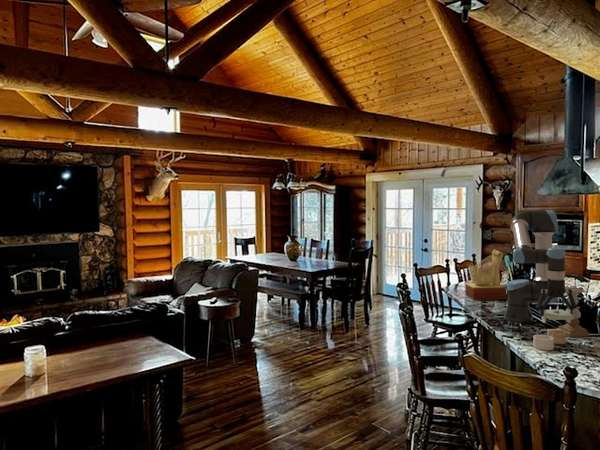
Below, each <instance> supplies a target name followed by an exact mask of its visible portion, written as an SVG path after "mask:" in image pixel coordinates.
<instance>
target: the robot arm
mask: <svg viewBox="0 0 600 450" xmlns="http://www.w3.org/2000/svg"><path fill="white" fill-rule="evenodd" d="M509 225H510V231H512V233H513V238H514V244H515V249H513V250H512V259H513V260H512V261H513V263H515V264H535V277H534V278H533V280H532V282H530V280H529V279H523V278H522V279H521V278H520V279H514V280H510V281H509V282H507V287H506V291H507V306H506V310H505V312H504V319H505V320H506V321H508V322H516V323H529V322H533V320H534V317H533V313H532V310H531V308H530V303H535V308H537V309H538V310H539V316H540V317H541V322H542V323H544V324H546V323H547V320H546V319H547V318H546V310H547V309H546V307H547V306H548V305H549V304H556V302H558V299H559V298H560V299H561V300H562V301H563V302H564V305H565V306H566V307H567V308H569V309H567V308H566V309H565V311H566V312H568V313H570V314H572V310H574V308H578V306H577V305H576V303H575V301H574V298H573V296H572V290H571V289H569V288H568V289H565V287H566V280H565V278H566V249H565V248H563V247H558V246H557V247H553V236H554V235H555V233H556V231H557V230H558V229H559V224H558V217H557V213H556V212H555V211H554V210H551V209H550V210H549V209H539V210H538V209H537V210H536V209H535V210H522V211H520V212H518V213H516V214H515V215H514V216H512V218H511V221H510V223H509ZM529 231H531V232H532V235H534V237H535V239H534V240H535V241H534V242H535V248H532V243H531V239H530V234H529ZM565 293H566V294H567V297H568V298H569V300H570V303H571V305H572V306H571V305H570V303H569V302H568V299H567V298H566V295H565ZM566 321H567V322H568V323H571V320H565V322H566ZM567 322H566V323H567Z"/></svg>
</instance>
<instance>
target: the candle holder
mask: <svg viewBox="0 0 600 450" xmlns="http://www.w3.org/2000/svg"><path fill="white" fill-rule="evenodd" d="M568 288H569V289H571V290H572V296H573V298H574V301H575V303H576V306H577V305H578V303H579V300H578V298H577V297H578V295H579V294H580V293H584V292H585V289H583V288H580V287H572V286H565V289H568ZM567 300H568V302H569V303H570V300H569V298H568V299H567ZM570 305H571V303H570ZM571 306H572V305H571ZM566 309H569V308H568V307H567V308H566ZM572 315H573V320H571V323H568V322H567V321H566V320H565V323H564V325H558V327H557V328H556V329H560V330H562V331H564V332H566V337H568V338H587V337H590V335H591V334H590V332H588V329H587V328H584V327H582V326H581V325H580V320H579V318H581V315H582V314H581V312H580V310H579V309H578V307H577V308H574V310H572Z"/></svg>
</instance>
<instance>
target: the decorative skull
mask: <svg viewBox="0 0 600 450" xmlns="http://www.w3.org/2000/svg"><path fill="white" fill-rule="evenodd" d="M489 263H490V264H491V263H492V262H489ZM489 263H488V262H487V263H484V264H488V265H485V266H484V264H483V263H482V264H483V265H482V264H481V265H482V266H484V268H485V267H486V268H487V274H488V273H489V272H488V269H489V265H490V264H489ZM482 266H481V268H480V270H482V268H483V267H482ZM487 266H488V267H487ZM484 268H483V270H484ZM490 268H491V269H492V267H490ZM491 269H490V270H491ZM483 270H482V271H483ZM490 270H489V271H490ZM480 272H481V271H480ZM485 274H486V270H485ZM487 274H486V275H487ZM491 274H492V273H491ZM499 274H500V284H501V283H502V279H503V273H502V270H501V269H500V267H499ZM488 275H489V274H488ZM491 276H492V275H491Z"/></svg>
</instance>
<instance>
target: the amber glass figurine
mask: <svg viewBox="0 0 600 450" xmlns="http://www.w3.org/2000/svg"><path fill="white" fill-rule="evenodd" d="M503 257H504V253H503V252H502V251H499V250H496V248H494V249H493V250H492V253H491V255H489V256H486V257H485V258H484V259H482V260H481V261H480V262H479V263H478V264H475V265H470V264H469V265H468V268H469V269H468V270H469V274H470V276H471V280H472V282H469V283H468V282H467V283H465V296H466V297H468V298H470V299H471V300H473V301H479V300H480V301H482V300H506V299H507V286H506V285H503V284H501V283H500V274H499V268H500V266H501V261H502V259H503ZM485 263H489V264H490V263H491V264H490V265H489V269H488V272H489V273H488V274H489V275H488V274H487V268H486V267H485V268H484V266H485V265H488V264H485ZM483 264H484V266H482V265H483ZM481 266H482V267H483V268H484V270H483V268H482V270H483V271H482V270H480V268H481ZM487 267H488V266H487ZM490 267H492V269H491V268H490ZM490 269H491V270H490ZM485 270H486V274H487V275H486V274H485ZM489 270H490V271H489ZM480 271H481V272H480ZM491 273H492V274H491ZM491 275H492V276H491Z"/></svg>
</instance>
